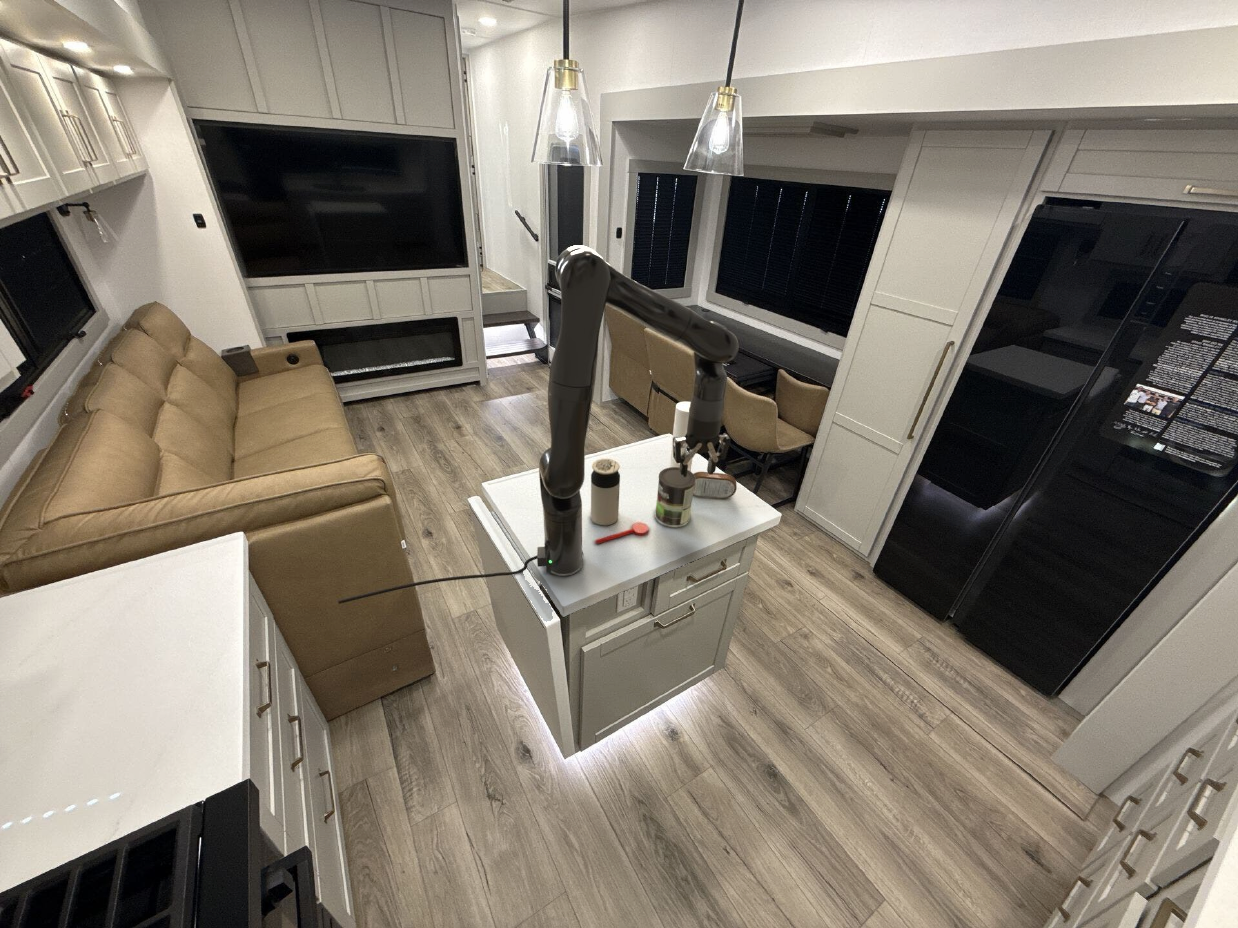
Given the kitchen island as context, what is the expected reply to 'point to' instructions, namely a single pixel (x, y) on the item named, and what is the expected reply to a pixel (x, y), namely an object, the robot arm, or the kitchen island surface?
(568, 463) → the robot arm
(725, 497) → the tin
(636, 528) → the red spoon
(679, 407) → the cylindrical container
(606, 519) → the travel mug
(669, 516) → the coffee can
